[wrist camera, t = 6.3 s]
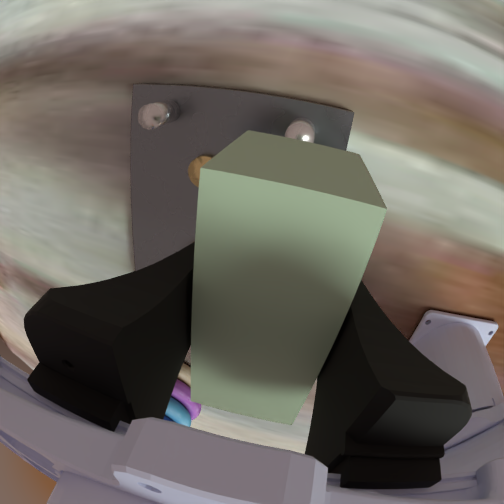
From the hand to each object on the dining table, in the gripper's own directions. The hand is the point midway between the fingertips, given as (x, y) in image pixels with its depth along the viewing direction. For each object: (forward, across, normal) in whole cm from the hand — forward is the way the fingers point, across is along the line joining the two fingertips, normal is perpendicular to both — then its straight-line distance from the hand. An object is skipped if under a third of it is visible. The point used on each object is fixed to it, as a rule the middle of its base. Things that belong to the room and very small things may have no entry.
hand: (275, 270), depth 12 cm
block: (+1, 0, 0) cm, 1 cm away
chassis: (+9, +4, +2) cm, 10 cm away
